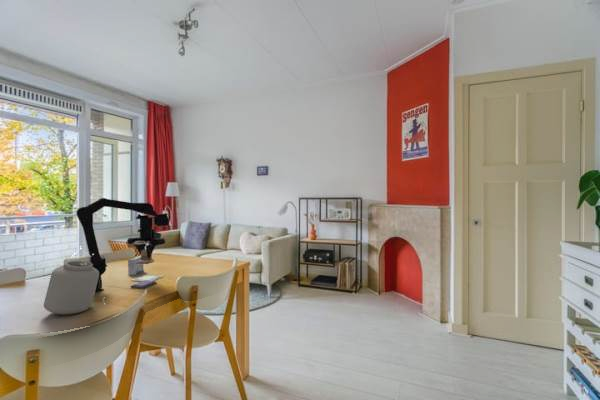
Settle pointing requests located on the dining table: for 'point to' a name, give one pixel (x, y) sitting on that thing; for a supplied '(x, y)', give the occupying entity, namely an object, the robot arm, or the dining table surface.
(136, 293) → the dining table surface
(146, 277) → the mat
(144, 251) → the stamp
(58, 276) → the jar
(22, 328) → the dining table surface
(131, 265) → the medicine box
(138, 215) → the robot arm
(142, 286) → the ink pad
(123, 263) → the dining table surface
